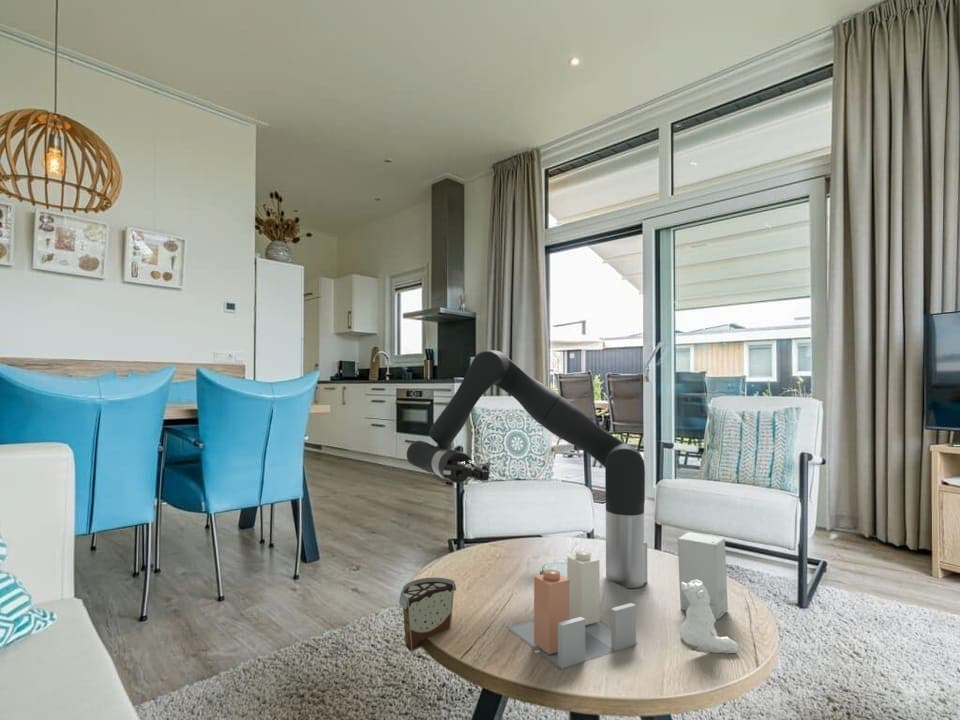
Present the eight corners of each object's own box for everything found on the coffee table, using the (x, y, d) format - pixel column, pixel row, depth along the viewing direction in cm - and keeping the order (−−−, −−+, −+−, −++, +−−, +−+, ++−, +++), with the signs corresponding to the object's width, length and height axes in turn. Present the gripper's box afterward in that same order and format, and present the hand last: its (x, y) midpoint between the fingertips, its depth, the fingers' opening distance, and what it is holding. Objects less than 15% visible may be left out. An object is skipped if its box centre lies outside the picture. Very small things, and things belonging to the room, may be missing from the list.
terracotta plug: (553, 637, 97) (554, 566, 97) (569, 648, 93) (569, 574, 93) (534, 643, 94) (534, 570, 95) (549, 654, 91) (549, 578, 91)
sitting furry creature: (741, 654, 94) (740, 586, 95) (703, 662, 91) (703, 593, 92) (702, 630, 103) (701, 569, 104) (666, 638, 100) (666, 574, 101)
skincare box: (728, 611, 112) (727, 538, 113) (717, 621, 107) (717, 545, 108) (689, 600, 118) (688, 530, 118) (677, 609, 113) (677, 536, 113)
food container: (435, 621, 106) (436, 571, 107) (456, 632, 102) (456, 580, 102) (385, 642, 98) (386, 588, 98) (404, 654, 93) (405, 597, 94)
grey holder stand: (577, 613, 110) (577, 574, 110) (638, 650, 95) (638, 604, 96) (503, 633, 101) (503, 591, 101) (557, 677, 86) (557, 627, 87)
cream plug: (584, 612, 107) (584, 548, 108) (599, 621, 103) (599, 554, 104) (567, 617, 105) (567, 551, 106) (581, 626, 101) (581, 558, 102)
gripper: (427, 451, 128) (459, 461, 113) (474, 448, 134) (510, 457, 119) (427, 482, 127) (459, 496, 112) (474, 477, 134) (510, 490, 119)
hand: (485, 476), depth 116 cm, fingers closed
